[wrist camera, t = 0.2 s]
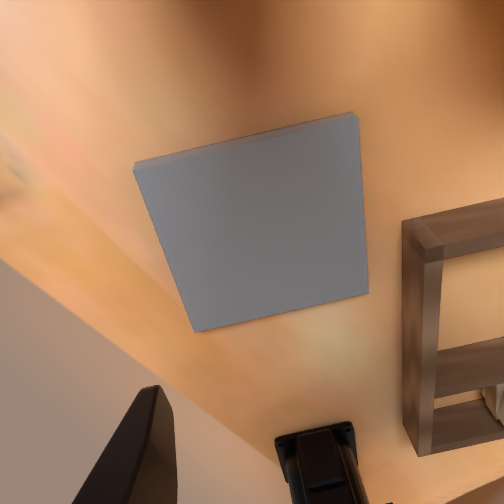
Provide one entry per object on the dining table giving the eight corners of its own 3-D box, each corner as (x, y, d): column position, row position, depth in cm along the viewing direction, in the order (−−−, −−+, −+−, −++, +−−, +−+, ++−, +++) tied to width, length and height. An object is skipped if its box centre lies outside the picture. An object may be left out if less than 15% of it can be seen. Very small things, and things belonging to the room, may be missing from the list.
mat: (363, 283, 27) (369, 293, 27) (194, 322, 28) (194, 332, 27) (352, 111, 21) (358, 117, 20) (135, 162, 22) (132, 170, 21)
